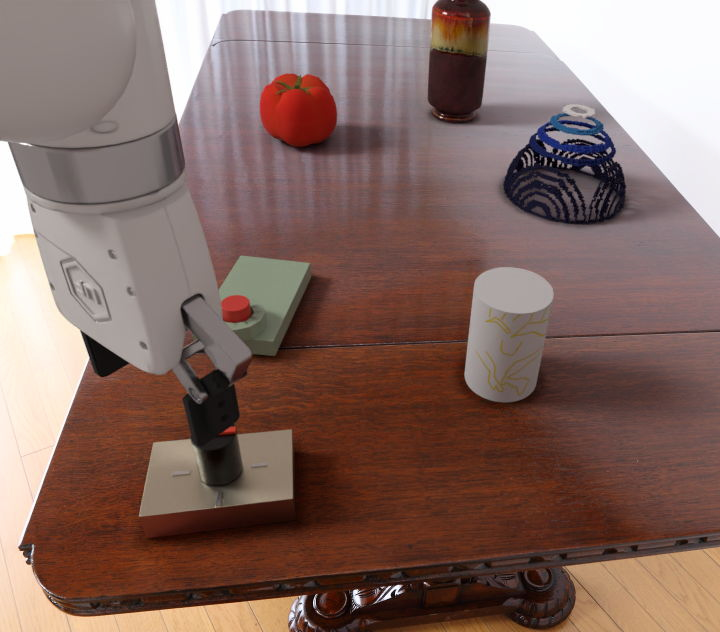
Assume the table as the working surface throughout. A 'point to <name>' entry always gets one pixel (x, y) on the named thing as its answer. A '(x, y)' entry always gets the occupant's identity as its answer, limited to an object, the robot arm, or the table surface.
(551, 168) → the decorative bowl
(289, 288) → the switch box
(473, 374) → the white patterned cylinder
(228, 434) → the hob knob
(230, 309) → the button
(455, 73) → the vase
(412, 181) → the table surface
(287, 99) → the tomato
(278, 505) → the panel
